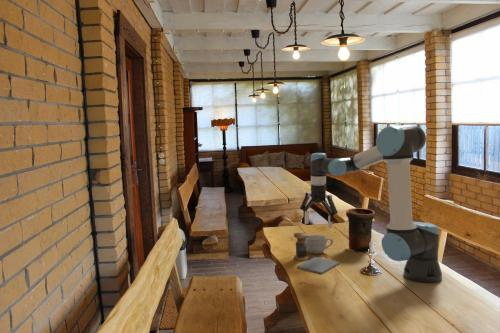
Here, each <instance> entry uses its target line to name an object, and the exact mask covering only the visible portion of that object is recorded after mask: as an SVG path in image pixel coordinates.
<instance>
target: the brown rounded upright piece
mask: <svg viewBox="0 0 500 333" xmlns="http://www.w3.org/2000/svg"><path fill="white" fill-rule="evenodd" d="M308 236H309V233H306V232H295V233H293V237H294V238H295V239H296V241H295V255H294V256H293V259H294V260H296V261H300V262H306V261H308V260H310V259H309V255H308V251H307V242H305V238H308Z"/></svg>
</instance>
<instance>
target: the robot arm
mask: <svg viewBox="0 0 500 333" xmlns="http://www.w3.org/2000/svg"><path fill="white" fill-rule="evenodd" d="M426 143H427V134H426V132H425V131H424V130H423V129H422V127H420V126H418V125H415V124H402V125H401V124H395V125H394V124H393V125H388V126H385V127H384V128H383V127H382V129H381V130H380V131H379V132H378V134H377V137H376V140H375V145H374V146H372V147H371V148H368V149H366V150H363V151H360V152H359V153H356V154H354V155H352V156H348V157H338V158H337V157H336V158H328V157H327V153H324V152H315V153H312V154H311V156H310V191H307V192H305V195H304V199H303V201H302V203H301V205H300V207H299V209H300V210H301V211H303V213H302V214H303V218H304V225H307V224H309V223H310V222H309V221H310V211H309V209H310V207H311V206H313V204H314V203H318V204H321V205H322V206H324V208H325V210H326V211H327V213H328V219H327V220H328V221H327V222H328V224H327V228H328V229H332V228H333V222H334V220H335V215H337V214H338V209H337V207H336V206H335V202H334V201H333V196H332V194H327V175H332V176H342V175H344V174H346V173H347V174H349V173H357V172H360V171H361V172H362V170H363V169H365V168H367V167H370V166H374V165H376V164H378V163H381V162H384V163H386V167H387V168H386V169H387V184H388V185H387V186H388V187H387V188H388V203H389V204H388V206H389V223H388V224H387V225H386V234H384V235H383V237H382V239H381V247H382V250H383V252H384V254H385V255H386V256H387V257H388V259H390V260H393V261H395V262H401V261H402V262H403V261H404V262H405V261H406V263H405V265H404V267H403V276H404V277H405V278H406V279H409V280H411V281H413V282H416V283H424V284H427V283H428V284H429V283H430V284H431V283H432V284H433V282H434V283H438V282H440V281H442V279H443V272H442V268H441V266H440V263H439V239H440V238H439V237H440V231H439V230H440V229H439V227H438V226H437V225H436V224H433V223H428V222H424V221H414V220H413V205H412V204H413V200H412V184H411V182H412V181H411V162H412V160H413V159H414V153H416V152H420V150H422V149H423V148H424V147H425V146H426ZM309 199H310V200H309ZM439 280H440V281H439ZM437 281H438V282H437Z"/></svg>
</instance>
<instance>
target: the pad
mask: <svg viewBox="0 0 500 333" xmlns="http://www.w3.org/2000/svg"><path fill="white" fill-rule="evenodd" d="M339 265H340V261H337V260H336V261H335V260H331V259H327V258H322V257H317V256H314V257H313V258H310V259H308V260H306V261H303V263H300V264H299V265H297V266H296V267H297V269H300V270H305V271H308V272H311V273H316V274H320V275H323V274H325V273H327V272H328V271H330V270H333V268H335V267H336V266H339Z"/></svg>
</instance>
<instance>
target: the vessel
mask: <svg viewBox="0 0 500 333" xmlns="http://www.w3.org/2000/svg"><path fill="white" fill-rule="evenodd" d="M345 215H346V217H347V221H348V245H347V246H346V250H348V251H352V252H356V253H369V252H368V249H369V243H370V242H371V243H372V227H373V220H374V218H375V216H376V213H375V211H374V210H372V209H368V208H361V207H356V208H349V209H347V210H346V212H345Z"/></svg>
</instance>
